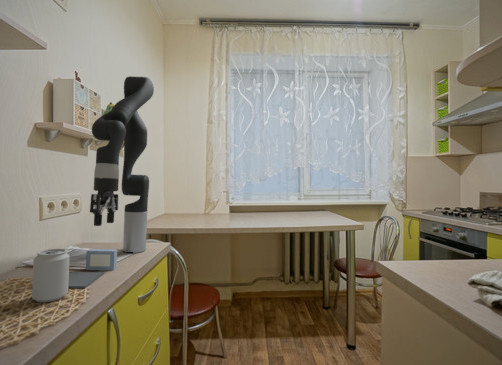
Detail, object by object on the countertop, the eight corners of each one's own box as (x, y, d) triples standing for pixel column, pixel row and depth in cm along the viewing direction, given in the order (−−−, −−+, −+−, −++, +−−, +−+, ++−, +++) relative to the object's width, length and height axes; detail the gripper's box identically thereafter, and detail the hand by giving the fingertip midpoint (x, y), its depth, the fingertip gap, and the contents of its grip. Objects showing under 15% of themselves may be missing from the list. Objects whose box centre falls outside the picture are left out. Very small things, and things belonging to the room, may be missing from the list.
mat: (58, 273, 85) (58, 271, 86) (104, 273, 87) (104, 272, 87) (31, 288, 74) (31, 286, 74) (85, 288, 75) (85, 286, 75)
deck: (89, 268, 92) (90, 249, 92) (116, 268, 93) (117, 249, 93) (85, 270, 90) (86, 251, 90) (113, 270, 91) (114, 251, 91)
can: (66, 289, 74) (67, 246, 74) (70, 298, 68) (72, 251, 68) (31, 296, 69) (33, 249, 69) (32, 306, 63) (34, 256, 63)
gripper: (106, 178, 100) (103, 222, 99) (83, 175, 85) (80, 226, 85) (126, 178, 100) (124, 222, 99) (107, 176, 86) (104, 227, 85)
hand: (104, 224), depth 92 cm, fingers open, 8 cm apart
